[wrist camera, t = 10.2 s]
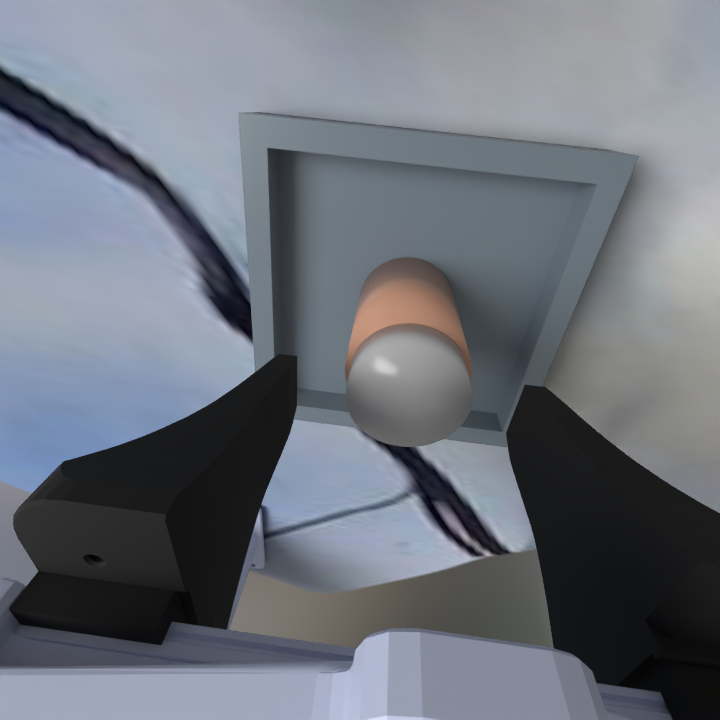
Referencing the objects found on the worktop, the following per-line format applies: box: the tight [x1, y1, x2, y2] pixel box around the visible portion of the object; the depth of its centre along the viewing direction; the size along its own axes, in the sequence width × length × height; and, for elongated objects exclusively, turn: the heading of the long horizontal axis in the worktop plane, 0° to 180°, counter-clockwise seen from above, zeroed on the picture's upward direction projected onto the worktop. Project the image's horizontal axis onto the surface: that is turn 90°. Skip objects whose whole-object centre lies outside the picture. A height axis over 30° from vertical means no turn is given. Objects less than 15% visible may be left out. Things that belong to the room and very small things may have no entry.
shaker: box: [345, 257, 473, 447], centre depth 16 cm, size 4×4×8 cm
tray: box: [238, 112, 639, 447], centre depth 19 cm, size 14×14×2 cm
